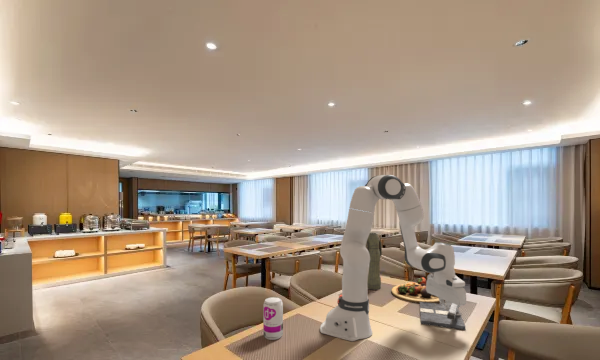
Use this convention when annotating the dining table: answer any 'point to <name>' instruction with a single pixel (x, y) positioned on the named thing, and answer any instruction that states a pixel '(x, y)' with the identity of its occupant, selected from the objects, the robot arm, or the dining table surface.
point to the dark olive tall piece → (374, 261)
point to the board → (439, 316)
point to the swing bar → (452, 311)
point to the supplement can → (273, 318)
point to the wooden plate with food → (414, 292)
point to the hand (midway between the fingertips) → (444, 308)
